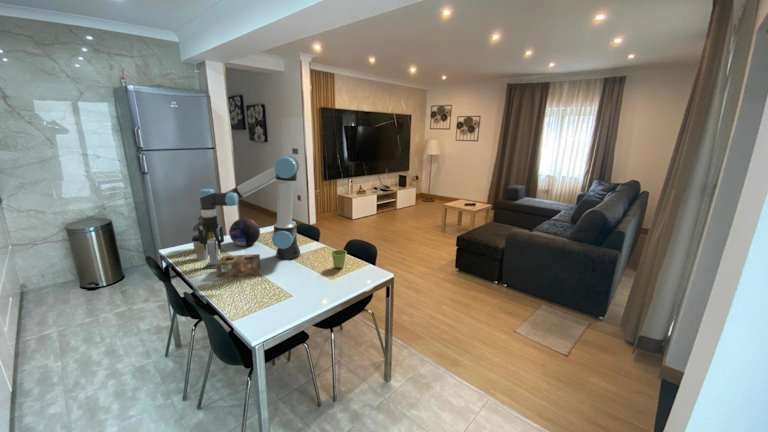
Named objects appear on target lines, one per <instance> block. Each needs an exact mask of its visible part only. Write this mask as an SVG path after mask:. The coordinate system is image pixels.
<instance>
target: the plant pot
mask: <svg viewBox="0 0 768 432" xmlns="http://www.w3.org/2000/svg"><path fill="white" fill-rule="evenodd" d="M347 253H348V252H347V250H343V249H335V250H332V251H331V252H330V255H331V257H332V262H333V267H335V268H343V267H345V262H346V261H345V260H346V255H347Z"/></svg>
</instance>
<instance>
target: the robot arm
mask: <svg viewBox="0 0 768 432" xmlns="http://www.w3.org/2000/svg"><path fill="white" fill-rule="evenodd" d="M299 167H300V165H299V161H298V160H297V158H295V157H293V156H291V155H286V156H281V157H279V158H278V159H277V160H276V161H275V163H274V164H273V166H272V167H271V168H269V169H267V170H265V171H263V172H262V173H259V174H258V175H256V176H254V177H252V178H250V179H249V180H247V181H245V182H242V183H241V184H239V185H238V186H236V187H234V188H232V189H230V190H228V191H225V192H216V191H215V189H214V188H204V189H200V190H199V191H198V194H199V195H198V196H199V205H200V212H201V215H202V216H203V217H202V223H203V225H202V226H199V227H198V228H197V229H198V231H199V234H198V235H199V239H200V244H204V249H205V250H206V252H207V255H208V256H209V247H208V242H207V241H208V235H209V232H213V237H214V238H216V242H217V244H216V248H217V255H218V256H219V255H220V254H221V249H222V244H223V243H224V242H225V236H224V227H225V226H224V225H219V223H218V216H217V207H218V206H219V207H221V206H223V207H232V206H235V207H236V206H238V204H239V201H240V200H242V199H244V198H245V197H247V196H249V195H250V194H253V193H255V192H256V191H258V190H260V189H262V188H264V187H265V186H268V185H269V184H271V183H273V182H275V181H276V182H277V183H278V184H277V204H276V205H277V209H276V210H277V211H276V212H277V213H276V223H275V224H274V225H273V235H272V237H271V242H272V244H273V245H274V246H275V247H276V248H277V250H276V252H275V254H276V255H275V256H276V258H278V259H280V260H289V259H296V258H298V257H300V256H301V250H300V247H299V245H298V236H297V235H298V234H297V233H298V232H297V222H296V221H294V220H293V206H294V187H295V186H294V184H295V183H296V182H297V180H298V179H297V178H298V177H297V175H298V171H299ZM203 228H204V229H205V237H204V239H203V230H202V229H203ZM217 229H219V232H218V230H217ZM198 231H197V232H198ZM218 233H219V234H218Z"/></svg>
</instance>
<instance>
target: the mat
mask: <svg viewBox="0 0 768 432" xmlns="http://www.w3.org/2000/svg"><path fill="white" fill-rule="evenodd" d="M202 270H217V269H216V266H211V265H210V261H209V262H207V263H206V265H204V266H203V268H202Z"/></svg>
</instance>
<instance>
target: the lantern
mask: <svg viewBox="0 0 768 432" xmlns="http://www.w3.org/2000/svg"><path fill="white" fill-rule="evenodd" d="M202 217H203V216H202V214H201V215H200V216H199V217H198V218H197V221H198V223H197V224H195V225H194V226H193V228H192V232H197V233H198V234H197V235H199V231H198V229H197V228H198V227H199V226H202V225H203V223H202ZM202 230H203V234H205V229H204V228H203V229H202ZM208 237H209V239H213V238H214V234H213V232H209V235H208ZM209 239H208V240H209ZM194 254H195V255H196V253H195V252H194Z"/></svg>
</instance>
